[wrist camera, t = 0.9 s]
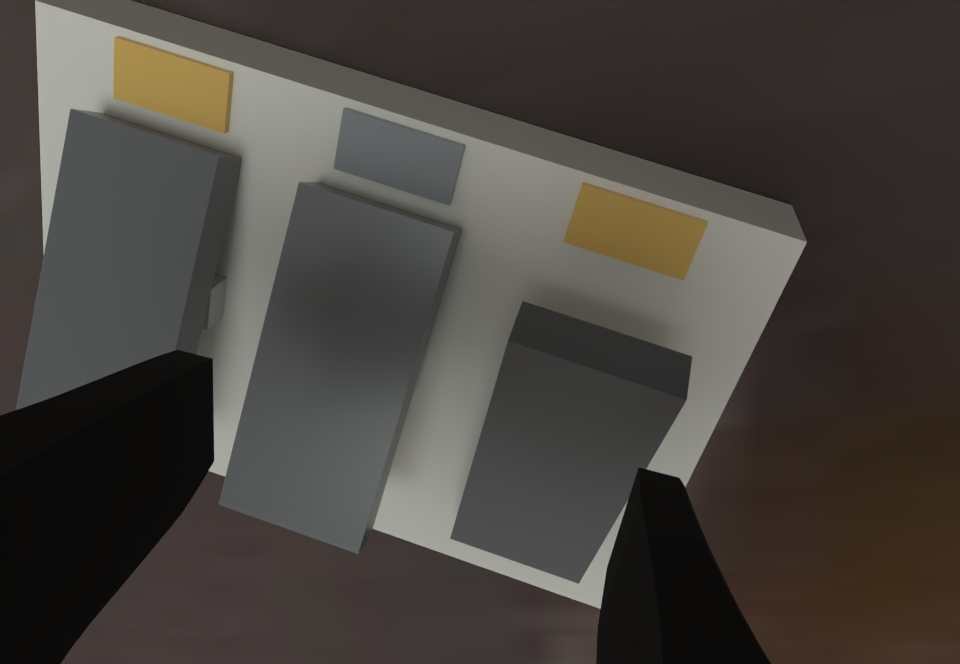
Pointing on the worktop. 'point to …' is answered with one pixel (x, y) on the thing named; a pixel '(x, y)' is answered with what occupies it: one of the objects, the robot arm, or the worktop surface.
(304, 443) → the rocker
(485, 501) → the rocker
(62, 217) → the rocker
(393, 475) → the switch panel
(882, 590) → the worktop surface
